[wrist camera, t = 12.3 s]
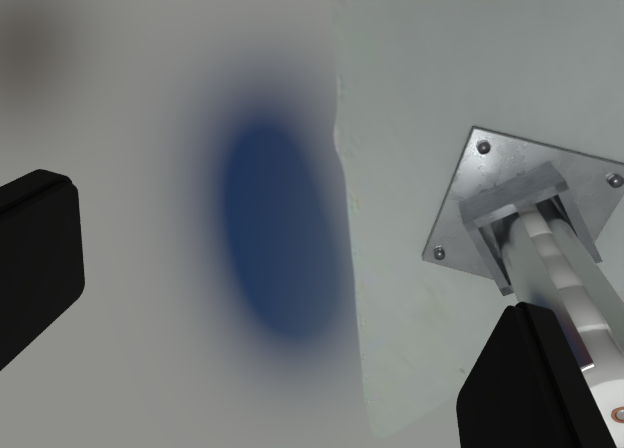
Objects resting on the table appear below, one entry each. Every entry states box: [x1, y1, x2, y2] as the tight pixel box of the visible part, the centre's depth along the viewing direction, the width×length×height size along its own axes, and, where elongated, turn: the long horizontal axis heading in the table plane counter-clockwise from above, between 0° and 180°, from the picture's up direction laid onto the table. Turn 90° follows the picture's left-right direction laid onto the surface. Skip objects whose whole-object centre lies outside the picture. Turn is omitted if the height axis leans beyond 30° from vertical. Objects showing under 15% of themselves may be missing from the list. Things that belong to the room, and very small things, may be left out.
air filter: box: [490, 198, 624, 447], centre depth 35 cm, size 6×6×25 cm
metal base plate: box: [422, 126, 624, 296], centre depth 45 cm, size 16×16×6 cm
